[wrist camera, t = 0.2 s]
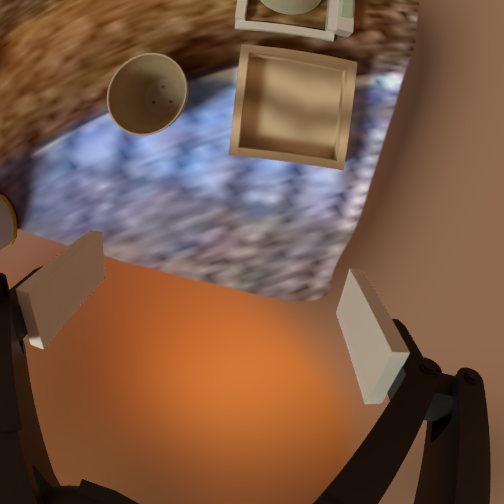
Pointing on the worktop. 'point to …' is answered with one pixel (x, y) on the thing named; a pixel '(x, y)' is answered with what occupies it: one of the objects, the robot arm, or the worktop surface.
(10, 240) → the soap bottle
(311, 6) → the can
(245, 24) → the white square frame
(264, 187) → the worktop surface
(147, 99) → the flower pot
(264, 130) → the open box
